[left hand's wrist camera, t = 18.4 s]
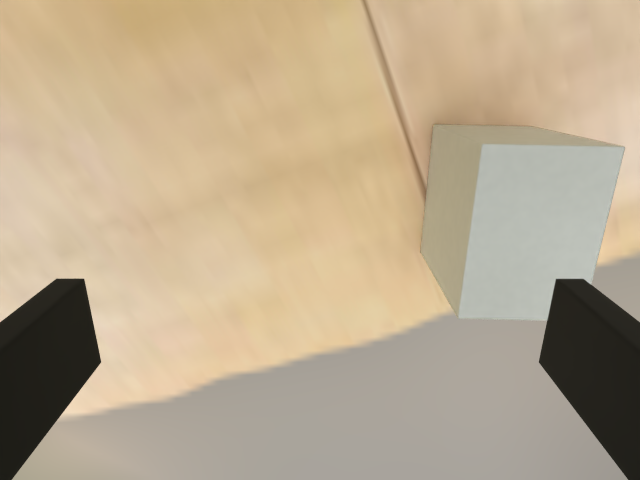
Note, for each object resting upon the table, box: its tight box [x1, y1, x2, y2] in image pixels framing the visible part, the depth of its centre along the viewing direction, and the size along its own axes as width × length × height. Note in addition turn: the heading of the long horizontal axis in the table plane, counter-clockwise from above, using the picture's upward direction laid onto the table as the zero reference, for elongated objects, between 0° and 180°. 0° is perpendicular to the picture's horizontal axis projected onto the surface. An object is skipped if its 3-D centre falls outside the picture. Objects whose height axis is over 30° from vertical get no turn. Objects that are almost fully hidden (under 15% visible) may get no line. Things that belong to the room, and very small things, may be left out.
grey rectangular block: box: [420, 124, 625, 321], centre depth 25 cm, size 6×8×9 cm
